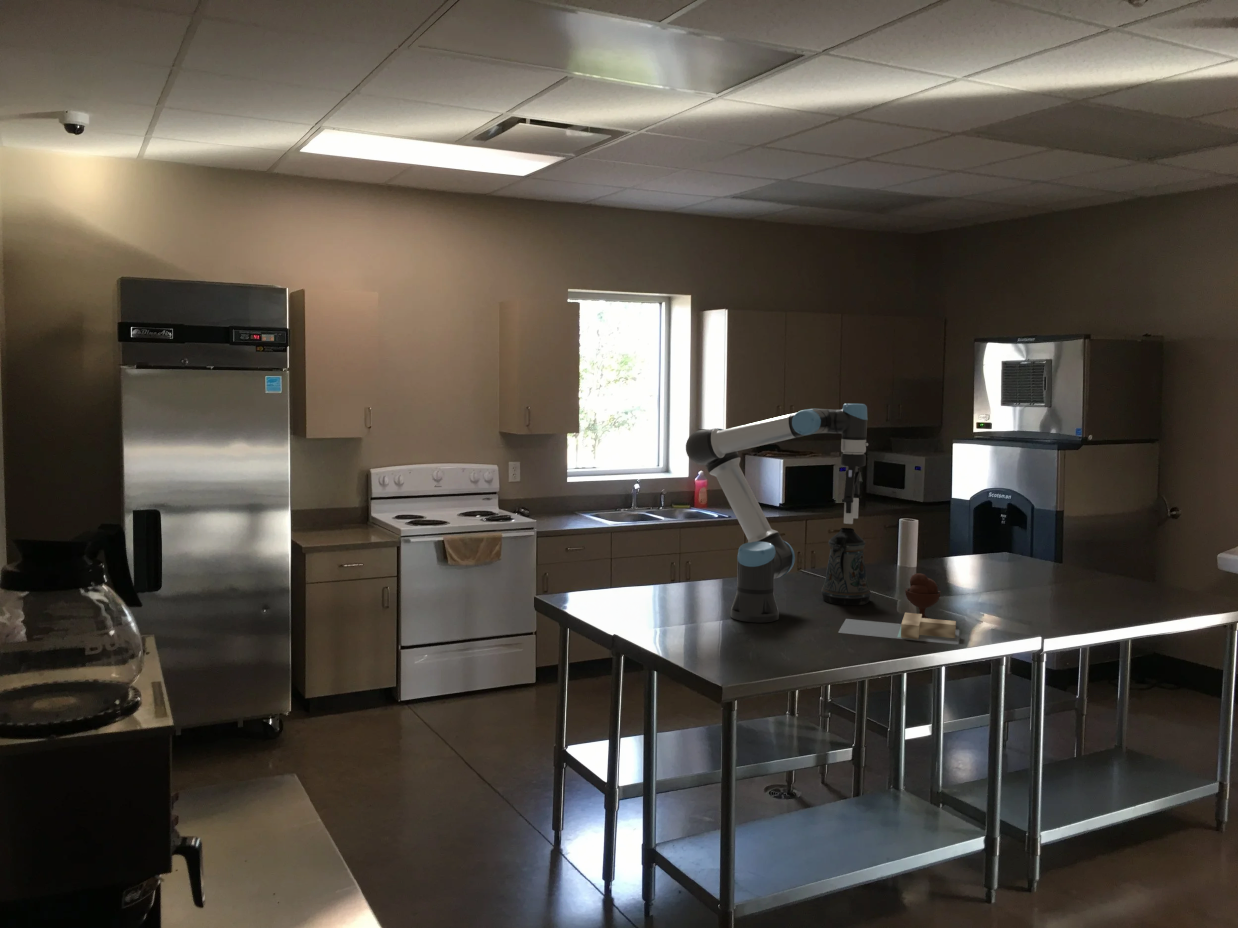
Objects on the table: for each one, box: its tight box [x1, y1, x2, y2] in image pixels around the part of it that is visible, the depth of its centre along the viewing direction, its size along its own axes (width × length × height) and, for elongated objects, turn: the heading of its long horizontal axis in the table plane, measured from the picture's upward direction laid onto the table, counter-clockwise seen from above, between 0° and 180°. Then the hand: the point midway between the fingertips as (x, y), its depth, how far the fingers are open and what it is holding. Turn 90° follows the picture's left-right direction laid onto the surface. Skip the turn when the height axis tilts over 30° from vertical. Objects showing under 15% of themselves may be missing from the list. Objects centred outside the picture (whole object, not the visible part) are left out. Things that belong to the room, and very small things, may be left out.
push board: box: [837, 618, 960, 645], centre depth 301 cm, size 34×19×1 cm, turn 70°
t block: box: [900, 612, 957, 639], centre depth 298 cm, size 15×16×4 cm
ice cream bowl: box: [904, 573, 942, 619], centre depth 316 cm, size 11×11×15 cm
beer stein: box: [820, 527, 871, 606], centre depth 343 cm, size 16×19×25 cm
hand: (851, 520), depth 313 cm, fingers open, 13 cm apart
